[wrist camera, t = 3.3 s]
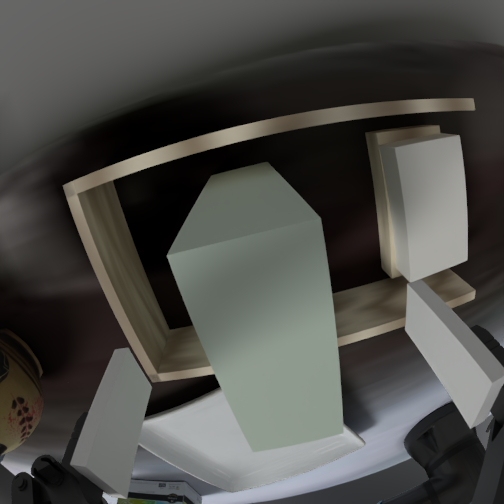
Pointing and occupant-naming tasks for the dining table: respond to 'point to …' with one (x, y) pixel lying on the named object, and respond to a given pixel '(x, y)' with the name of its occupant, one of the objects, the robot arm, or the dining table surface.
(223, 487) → the square plate
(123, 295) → the frame
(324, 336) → the tall panel
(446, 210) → the upper offcut
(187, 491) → the tea box
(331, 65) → the dining table surface
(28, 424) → the ceramic jug
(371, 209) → the dining table surface
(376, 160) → the lower offcut
